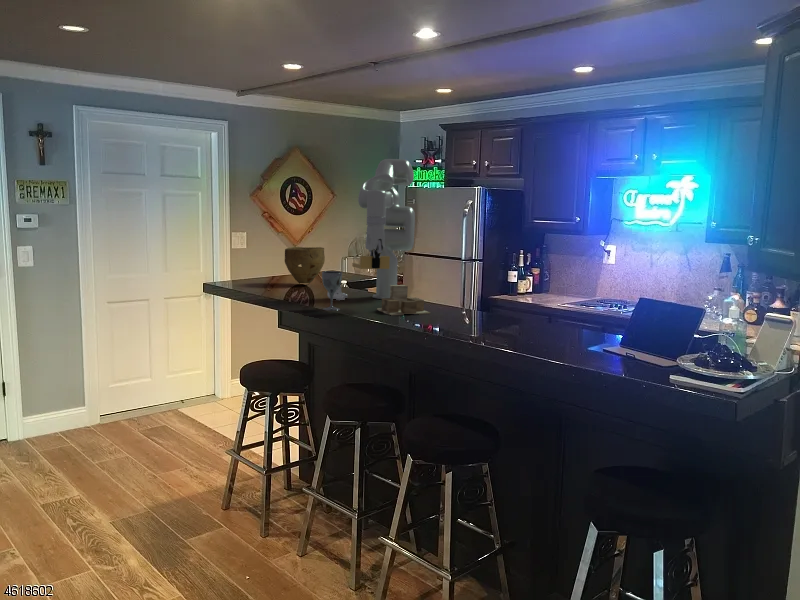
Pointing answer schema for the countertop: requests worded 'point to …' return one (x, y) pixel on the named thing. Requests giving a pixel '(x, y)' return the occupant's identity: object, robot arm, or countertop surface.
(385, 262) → the tan wooden block
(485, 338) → the countertop surface
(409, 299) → the stepped wooden block
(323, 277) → the wine glass
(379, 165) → the robot arm
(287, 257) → the bowl
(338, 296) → the seated beast figurine
